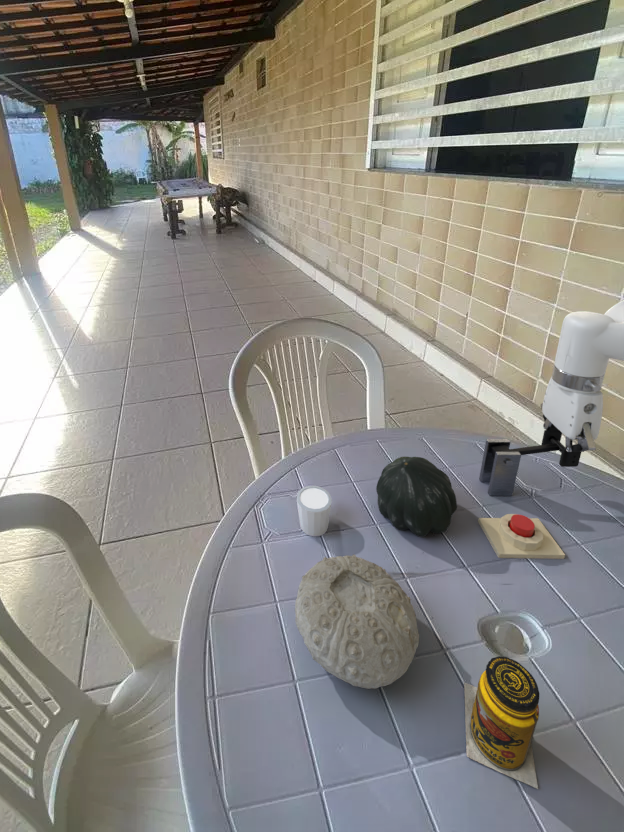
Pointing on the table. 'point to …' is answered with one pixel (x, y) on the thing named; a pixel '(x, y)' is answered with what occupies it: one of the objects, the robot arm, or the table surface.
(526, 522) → the button
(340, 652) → the decorative shell
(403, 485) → the squash
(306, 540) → the table surface
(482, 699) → the condiment
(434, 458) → the table surface
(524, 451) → the press lever
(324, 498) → the white cylinder
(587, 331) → the robot arm
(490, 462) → the grey upright double plates
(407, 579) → the table surface
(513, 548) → the control block
